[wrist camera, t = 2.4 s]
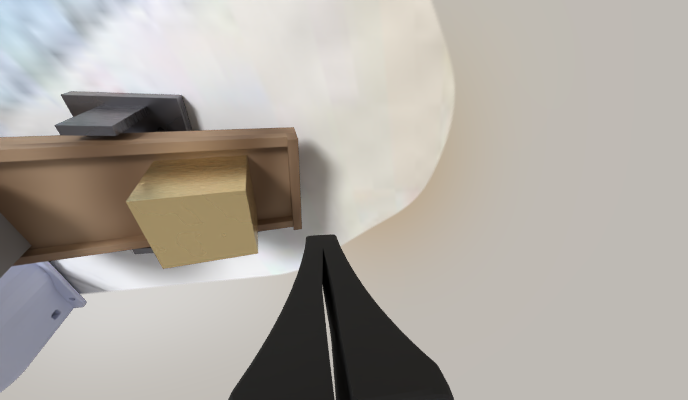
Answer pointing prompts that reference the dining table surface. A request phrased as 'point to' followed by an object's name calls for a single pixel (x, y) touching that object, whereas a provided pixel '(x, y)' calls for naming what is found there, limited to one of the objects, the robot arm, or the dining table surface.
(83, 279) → the dining table surface
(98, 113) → the beam stand
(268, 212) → the balance beam
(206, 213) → the block
